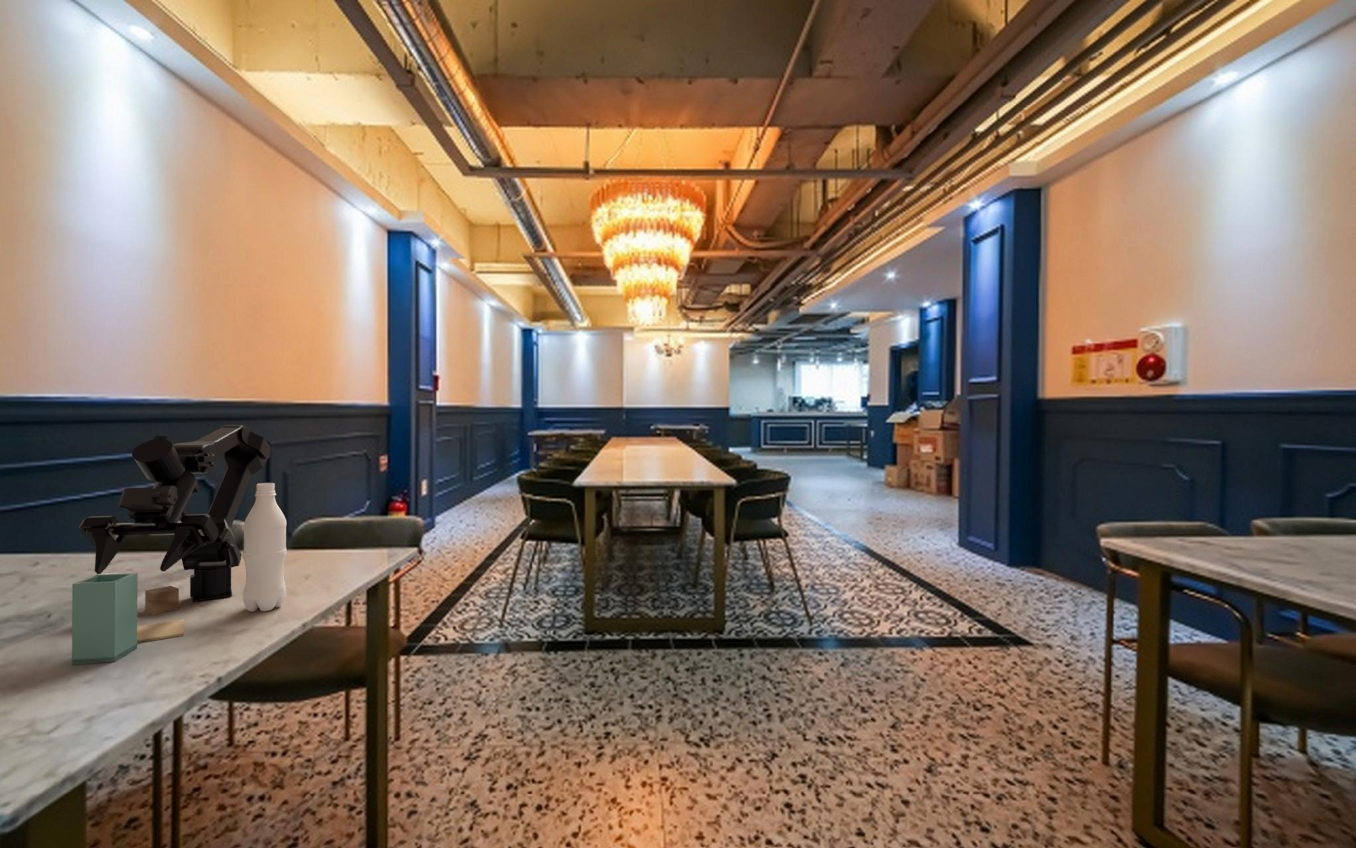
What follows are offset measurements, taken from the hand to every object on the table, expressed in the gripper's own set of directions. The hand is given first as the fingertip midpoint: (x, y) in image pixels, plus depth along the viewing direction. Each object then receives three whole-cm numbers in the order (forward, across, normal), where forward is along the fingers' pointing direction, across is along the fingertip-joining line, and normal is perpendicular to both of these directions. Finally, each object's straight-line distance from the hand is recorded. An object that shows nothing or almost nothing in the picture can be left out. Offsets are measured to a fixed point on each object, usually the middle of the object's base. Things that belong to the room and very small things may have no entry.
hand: (130, 571), depth 101 cm
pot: (+13, 0, +4) cm, 13 cm away
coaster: (+5, +1, +12) cm, 13 cm away
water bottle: (-3, +14, +20) cm, 25 cm away
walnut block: (-5, -5, +22) cm, 23 cm away
